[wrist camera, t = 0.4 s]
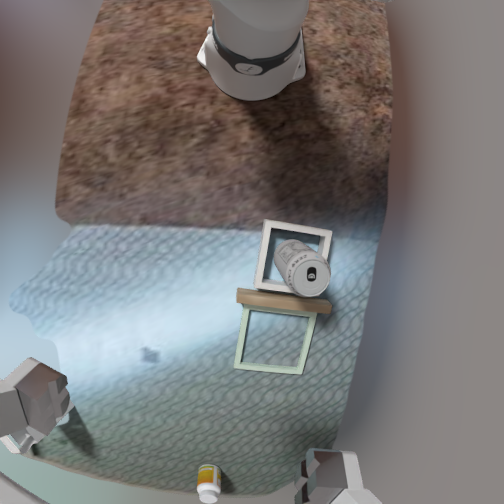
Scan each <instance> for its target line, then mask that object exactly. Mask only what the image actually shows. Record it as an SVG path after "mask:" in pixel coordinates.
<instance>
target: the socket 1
mask: <svg viewBox="0 0 504 504" xmlns="http://www.w3.org/2000/svg"><path fill="white" fill-rule="evenodd" d="M271 227H272V228H278V229H284V230H290V231H296V232H302V233H308V234H314V235H320V241H319V246H318V251H317V253H319V254H320V255H321V256H323V257H324V258H325V259H326V260H327V258H328V252H329V247H330V242H331V237H332V231H330V230H327V229H322V228H316V227H310V226H305V225H299V224H293V223H287V222H281V221H275V220H269V219H264V222H263V228H262V234H261V240H260V246H259V252H258V258H257V264H256V270H255V276H254V282H253V284H254V288H260V289H267V290H274V291H282V292H289V293H293V292H292V291H291V290H290V288H289V287H288V285H287V284H286V282H285V281H278V280H270V279H263V272H264V266H265V260H266V255H267V249H268V243H269V237H270V231H271ZM319 295H320V294H319ZM319 295H317V296H319Z"/></svg>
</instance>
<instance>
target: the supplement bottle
mask: <svg viewBox="0 0 504 504" xmlns="http://www.w3.org/2000/svg"><path fill="white" fill-rule="evenodd" d="M197 491H198V493H199V494H200V495H199V499H200V501H202V502H204V503H215V502H217V498H218V495H219V494H220V492H221V470H220V468H219V467H217V466H215V465H211V464H206V465H202V466H201V467H200V468H199V471H198V483H197Z"/></svg>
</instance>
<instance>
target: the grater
mask: <svg viewBox="0 0 504 504" xmlns="http://www.w3.org/2000/svg"><path fill="white" fill-rule="evenodd" d="M73 407H74V404H73V403H72V402H71V400H70V401H69V406H68V408H67V411H66V412H65V414H64V415H63V416H62V417H59V418H56V424H57V423H58V422H59V421H60V420H61V419H62V418H63V417H64V416H65V415H66V414H67V413H68V412H69V411H70V410H71V409H72V408H73ZM10 435H11V436H12V437H13V438H14V439H15V441H16V442H17V443H18V444H19V445H23V446H22V448H21V449H20V451H19V450H18V449H17V447H16V446H15V445H14V444H13V443H12V442H11V440H10V439H9V438H8V436H7V435H6V436H4V437H1V438H0V439H1V441H2V442H3V443H4V444H5V446H6V447H7V448H8V449H9V450H10V451H11V453H13V454H22V453H27V451H28V450H29V448H30V447H31V445H32V444H33V443H38V442H39V441H40V440H41V439H42V438H43V437H44V436H45V435H44V434H43V433H41V432H39V431H37V430H35V429H34V428H32V427H30V426H28V427H26V428H24V429H21V430H19V431H16V432H14V433H11V434H10Z"/></svg>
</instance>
